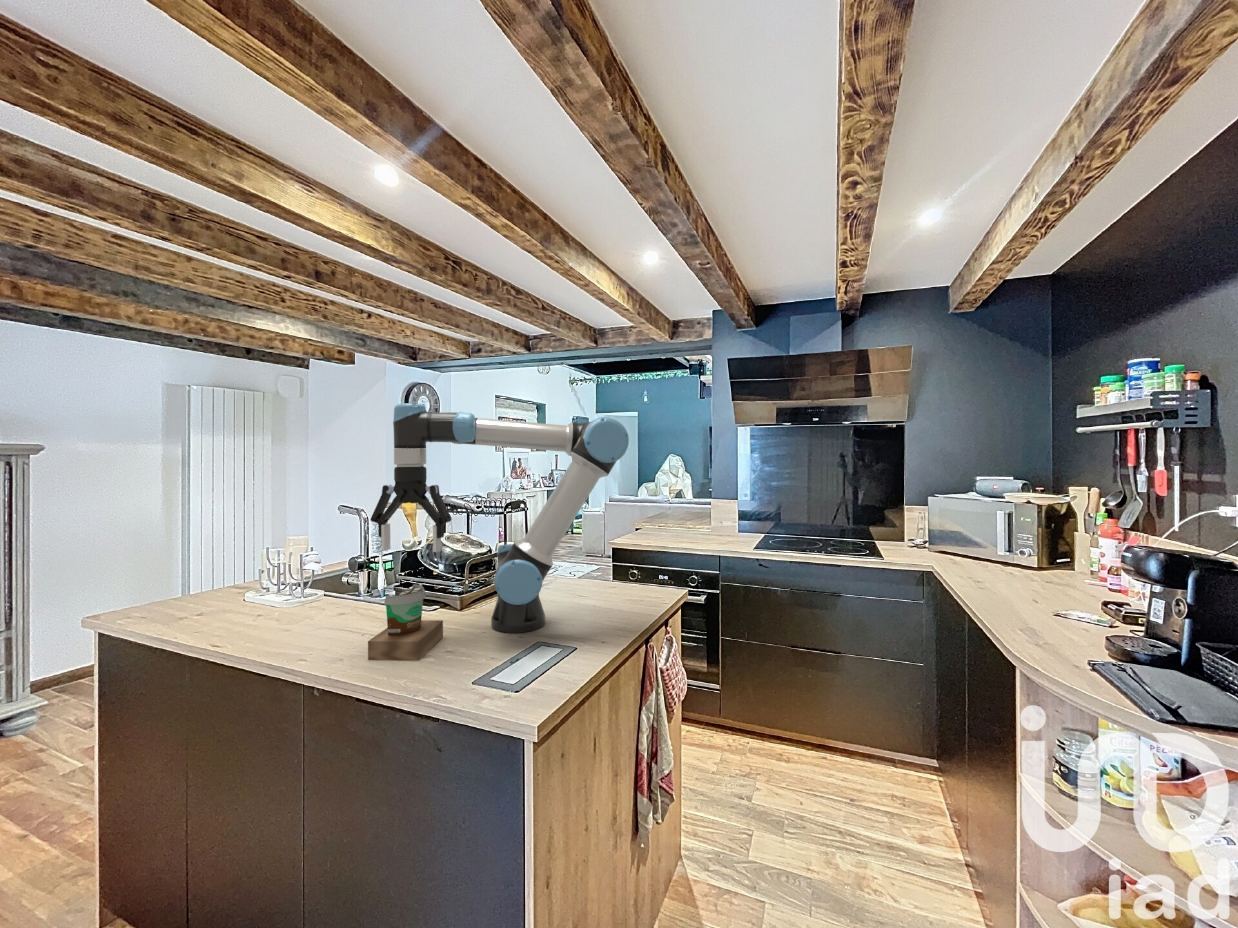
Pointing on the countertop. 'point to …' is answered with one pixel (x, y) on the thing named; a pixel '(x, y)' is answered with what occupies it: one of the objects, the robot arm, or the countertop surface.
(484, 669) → the countertop surface
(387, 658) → the walnut box
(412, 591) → the food container
